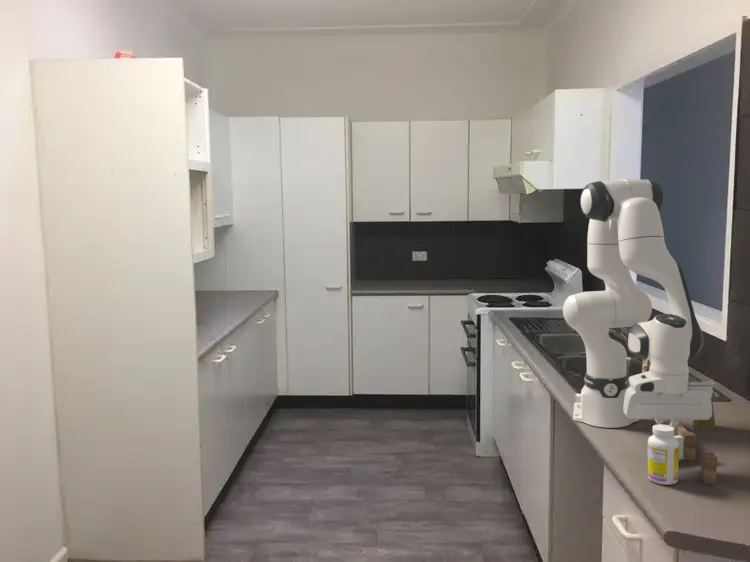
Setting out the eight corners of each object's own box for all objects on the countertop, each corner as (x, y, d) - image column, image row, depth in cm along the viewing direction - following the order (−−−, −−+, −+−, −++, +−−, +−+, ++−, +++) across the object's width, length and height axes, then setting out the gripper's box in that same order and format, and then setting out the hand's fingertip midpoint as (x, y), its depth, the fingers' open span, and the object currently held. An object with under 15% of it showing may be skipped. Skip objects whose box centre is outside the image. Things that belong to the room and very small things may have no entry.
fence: (665, 438, 182) (666, 415, 181) (675, 438, 182) (675, 415, 181) (704, 483, 154) (705, 456, 153) (716, 483, 154) (716, 456, 153)
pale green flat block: (678, 453, 169) (679, 433, 168) (683, 456, 167) (683, 435, 166) (646, 457, 167) (646, 436, 166) (650, 460, 165) (651, 439, 165)
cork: (695, 421, 194) (696, 385, 192) (717, 425, 190) (719, 388, 189) (689, 427, 189) (690, 390, 188) (712, 432, 185) (714, 394, 184)
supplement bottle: (669, 473, 160) (671, 422, 158) (683, 485, 153) (684, 431, 152) (642, 474, 160) (643, 423, 158) (654, 486, 153) (656, 433, 152)
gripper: (708, 377, 164) (705, 430, 166) (622, 377, 166) (620, 429, 169) (718, 385, 158) (715, 440, 160) (629, 385, 160) (627, 439, 163)
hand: (665, 435), depth 165 cm, fingers closed
